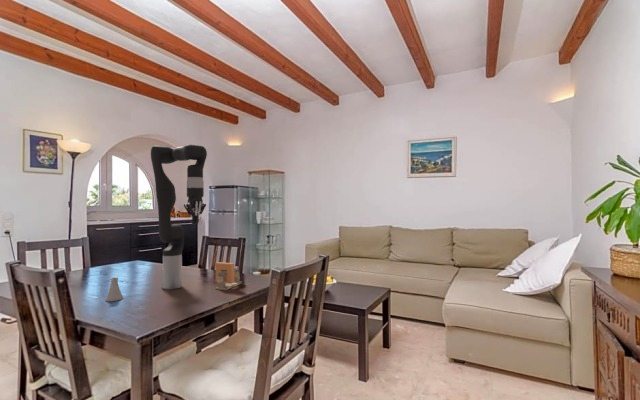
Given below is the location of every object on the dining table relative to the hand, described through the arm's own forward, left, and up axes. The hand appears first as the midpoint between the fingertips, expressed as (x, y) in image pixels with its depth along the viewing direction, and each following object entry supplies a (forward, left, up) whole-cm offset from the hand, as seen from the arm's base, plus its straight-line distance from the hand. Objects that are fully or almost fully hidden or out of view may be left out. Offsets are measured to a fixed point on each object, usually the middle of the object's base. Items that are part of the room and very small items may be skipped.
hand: (195, 223), depth 157 cm
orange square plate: (+3, +19, -32) cm, 37 cm away
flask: (-33, -16, -35) cm, 51 cm away
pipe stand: (+3, +22, -35) cm, 41 cm away
